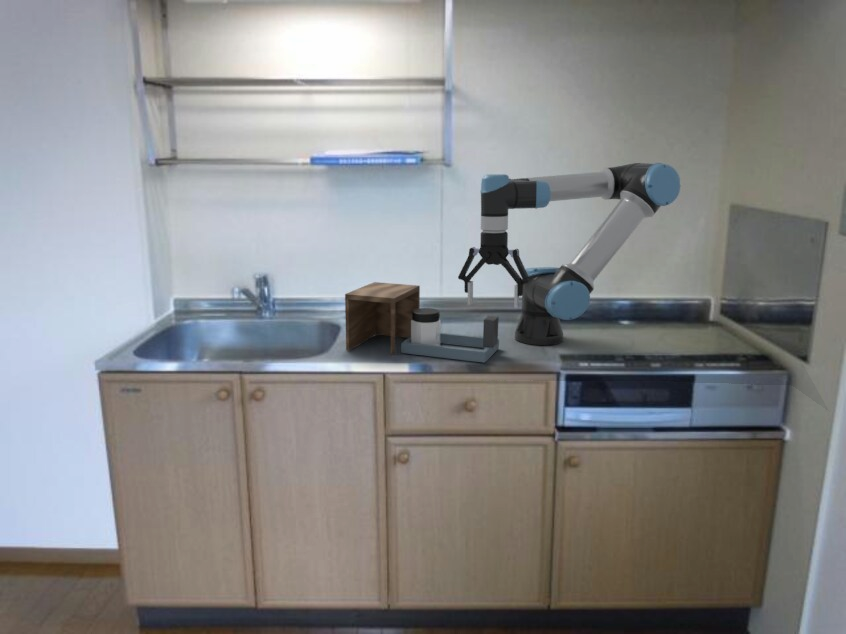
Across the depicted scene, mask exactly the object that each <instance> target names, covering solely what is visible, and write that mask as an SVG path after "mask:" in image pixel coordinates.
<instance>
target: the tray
mask: <svg viewBox="0 0 846 634" xmlns="http://www.w3.org/2000/svg"><path fill="white" fill-rule="evenodd" d="M482 333H483V334H482V336H477V335H468V334H467V335H466V334H458V333H457V334H456V333H447V332H440V344H448V345H454V346H455V345H456V346H463V347H473V348H474V347H475V348H480V349H481V348H482V350H479V349H478V350H477V349H471V348H469V349H468V348H460V347H452V346H451V347H450V346H442V345H440V346H435V345H426V344H417V343H411V337H410V338H406V339H405V340H403V341H402V342H401V345H400V346H401V351H400V352H401V354H409V355H416V356H427V357H434V358H441V359H452V360H459V361H460V360H461V361H467V362H477V363H478V362H479V363H486V362H487V361H488V360H489V359H490V358H491V357H492V356H493V355H494V354H495V352H497V350H499V349H500V347H499V346H500V338H499V316H494V315H493V316H492V315H488V316H487V317H485V318H484V319H483V331H482Z"/></svg>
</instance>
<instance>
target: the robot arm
mask: <svg viewBox="0 0 846 634" xmlns="http://www.w3.org/2000/svg"><path fill="white" fill-rule="evenodd" d="M681 187H682V186H681V178H680V174H679V173H678V172H677V170H676V169H675V168H674V167H673V166H671V165H670V164H666V163H665V164H664V163H661V162H654V163H649V162H647V163H645V162H634V163H629V164H622V165H619V166H618V165H617V166H612V167H603V168H602V169H601V170H600V171H594V172H582V173H581V172H579V173H572V174H571V173H569V174H555V175H548V176H547V175H546V176H535V177H533V176H532V177H526V178H523V177H522V178H510V177H509V175H508V174H504V173H503V174H493V173H491V174H485V175H483V176H482V177H481V183H480V230H481V232H480V248H476V247H475V246H472V247H471V248H469V250H468V256H467V259H466V260H465V263H463V266H462V268H461V270H460V272H459V274H458V277H457V278H458V280H461V281H463V282H464V293H466V294H467V306H470V305H472V304H474V281H473V280H472V278H474V276H475V275H476V274H477V273H478V272H479V271H480V270H481V268H482V267H483V266H484V265H485V264H486V265H489V266H490V265H496V266H499V265H501V266H502V267H503V268H504V269H505V270H506V271H507V273H508V274H509V275H510V276H511V278H512V279H513V281H514V282H515V283H516V284H515V285H514V290H513V291H514V293H513V294H514V295H513V300H514V301H513V302H514V304H513V307H514V309H518V308H519V306H520V297H521V310H520V311H521V313H520V318H519V320H518V323H517V325H516V327H515V330H514V339H515V340H516V341H517V342H520V343H521V344H522V343H523V344H527V345H531V346H536V345H537V346H551V345H552V346H553V345H554V346H555V345H558V344H561V343H562V342H563V341H564V331H563V328H562V324H561V321H560V320H565V321H571V320H575V319H577V318H579V317H580V316H582V315H583V314H584V313H585V312H586V311H587V310H588V307H589V306H590V302H591V301H590V299H591V294H592V292H593V291H594V289H595V286H594V281H595V279H597V277H599V275H600V273H602V271H603V270H604V269H605V267H607V265H608V264H609V263H610V262H611V260H612V259H613V257H614V256H615V255H616V254H617V253H618V251H619V250H620V249H621V248H622V247H623V246H624V244H625V243H626V242H627V240H628V239H629V238H630V236H632V234H633V233H634V231H636V229H637V228H638V227H639V225H640V224H641V223H642V222H643V220H644V219H646V218H653V217H654V215H655V214H656V212H658V210H659V209H660V208H661V207H666V206H669V205H671V204H673V203H674V202H675V201H676V199H677V198H678V196H679V195H680V191H681ZM592 198H601V199H603V200H605V201H606V200H607V201H608V200H619V202H618V203H617V204H616V206H615V207H614V208H613V209H612V211H611V212H610V213H609V215H608V216H607V217H606V218H605V220H604V221H602V222H601V224H600V225H599V227H598V228H597V229H596V230H595V231H594V233H593V234H592V235H591V237H589V239H588V240H587V242H586V243H584V245H583V246H582V248H581V249H580V250H579V251H578V253H577V254H576V255H575V257H574V258H572V260H571V261H570V262H569V263H565V264H562V265H560V267H556V266H550V267H549V266H546V267H545V266H544V267H541V266H540V267H528V268H525V266H524V263H523V261H522V259H521V257H520V250H519V249H518V248H515V249H509V248H508V243H509V242H508V238H509V237H508V236H509V235H508V233H509V232H507V230H508V229H509V210H515V209H536V210H537V209H539V208H540V209H541V208H546V207H547V206H548V205H549V204H550V202H558V201H567V200H579V199H580V200H581V199H582V200H583V199H592ZM478 254H479V255H480V258H481V259H480V260H479V261H478V262H477V264H476V265H475V266H474V267H473V269H471V270H470V272H469V273H468V271H469V269H470V267H471V265H472V263H473V260H474V259H475V257H476V256H477V255H478ZM508 256H510V257H511V259H513V261H514V264H515V266H516V269H517V270H518V272H519V273H518V272H517V271H516V269H515V268H514V267H513V266H512V264H511V262H510V261H509V260H508V259H507V257H508ZM467 273H468V274H467ZM550 344H551V345H550Z"/></svg>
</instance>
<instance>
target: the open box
mask: <svg viewBox="0 0 846 634" xmlns="http://www.w3.org/2000/svg"><path fill="white" fill-rule="evenodd" d="M420 286H421V285H416V284H415V285H414V284H403V283H389V282H380V281H379V282H377V281H374V282H371V283H369V284H367V285H364V286H361V287H359V288H356V289H354V290H352V291H350V292H347V293H345V294H344V302H345V303H344V306H345V307H344V308H345V309H344V310H345V315H344V317H345V349H346V351H351V350H352V349H354V348H356V347H357V346H359V345H361V344H363V343H364V342H366V341H368V340H370V339H371V338H373V337H375V336H379V335H380V336H388V337H390V356H396V337H397V338H406V339H408V338H410V337H411V320H412V311H413V310H415V309H419V308H420V307H421V306H420V301H421V300H420V298H421V297H420V296H421V295H420V294H421V292H420V291H421V287H420Z"/></svg>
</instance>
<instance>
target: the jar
mask: <svg viewBox="0 0 846 634" xmlns="http://www.w3.org/2000/svg"><path fill="white" fill-rule="evenodd" d="M440 313H441V312H440V310H439V309H436V308H433V307H432V308H431V307H421V308H419V309H415V310H413V311H412V320H411V343H417V344H426V345H435V346H441V343H440V333H441V328H442V327H441V326H442V325H441V322H442V321H441V320H442V319H441V314H440Z"/></svg>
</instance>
